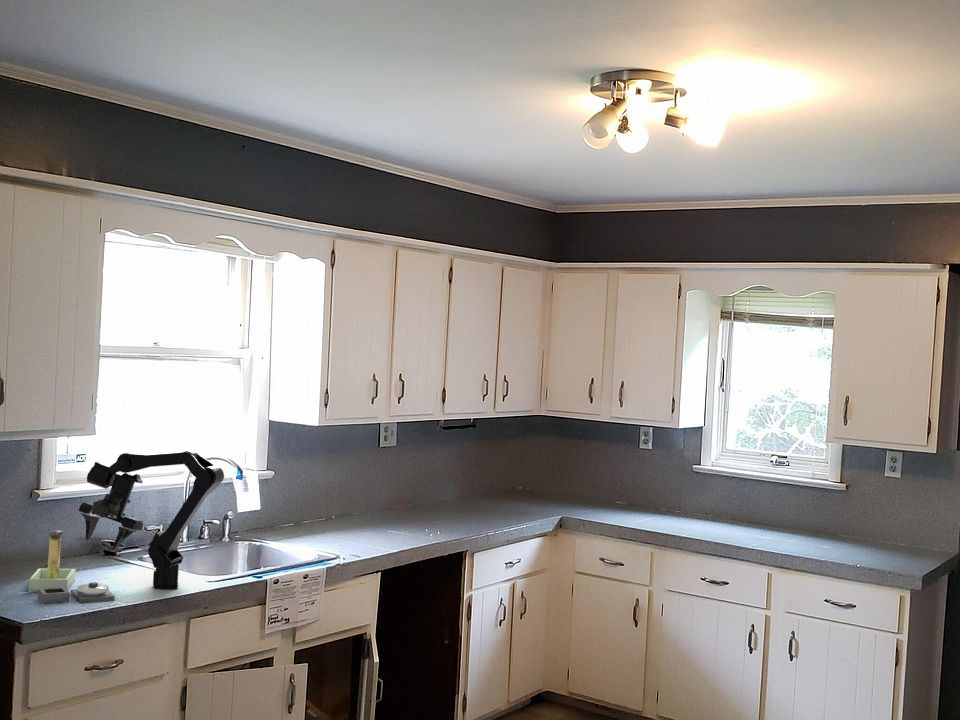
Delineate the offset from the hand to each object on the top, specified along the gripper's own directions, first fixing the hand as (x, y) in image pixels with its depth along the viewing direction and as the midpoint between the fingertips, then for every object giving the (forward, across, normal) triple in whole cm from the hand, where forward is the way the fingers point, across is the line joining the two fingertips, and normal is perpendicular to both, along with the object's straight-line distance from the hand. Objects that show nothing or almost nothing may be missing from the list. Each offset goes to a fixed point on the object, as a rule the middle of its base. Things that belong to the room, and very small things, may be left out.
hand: (100, 544), depth 289 cm
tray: (+14, -6, -7) cm, 17 cm away
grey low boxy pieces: (+13, +8, -16) cm, 22 cm away
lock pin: (+14, -6, -7) cm, 16 cm away
